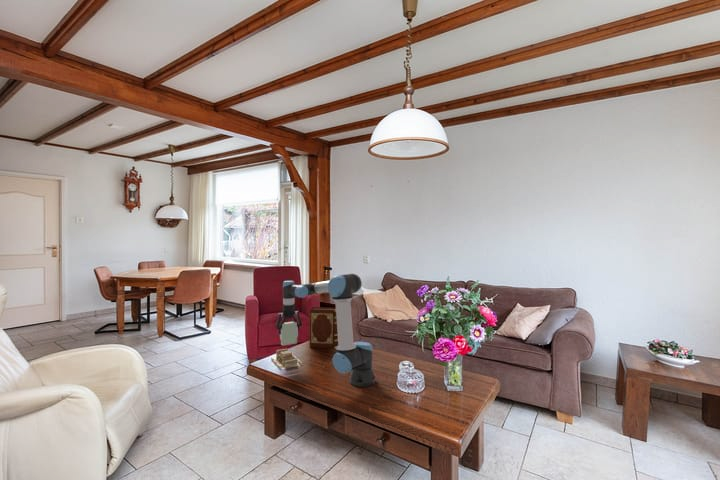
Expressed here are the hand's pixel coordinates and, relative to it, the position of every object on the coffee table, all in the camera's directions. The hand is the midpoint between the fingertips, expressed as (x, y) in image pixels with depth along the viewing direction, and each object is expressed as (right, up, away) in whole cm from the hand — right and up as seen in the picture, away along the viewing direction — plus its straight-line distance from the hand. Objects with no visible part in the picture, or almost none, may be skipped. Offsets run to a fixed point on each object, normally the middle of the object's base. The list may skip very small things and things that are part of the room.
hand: (288, 337), depth 224 cm
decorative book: (+20, -19, +41) cm, 49 cm away
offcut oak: (-3, -15, +4) cm, 16 cm away
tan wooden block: (-3, -18, +4) cm, 19 cm away
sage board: (0, -4, 0) cm, 4 cm away
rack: (-3, -19, +4) cm, 20 cm away
